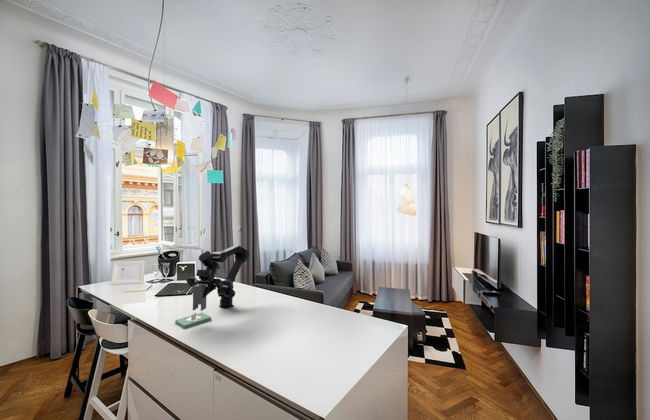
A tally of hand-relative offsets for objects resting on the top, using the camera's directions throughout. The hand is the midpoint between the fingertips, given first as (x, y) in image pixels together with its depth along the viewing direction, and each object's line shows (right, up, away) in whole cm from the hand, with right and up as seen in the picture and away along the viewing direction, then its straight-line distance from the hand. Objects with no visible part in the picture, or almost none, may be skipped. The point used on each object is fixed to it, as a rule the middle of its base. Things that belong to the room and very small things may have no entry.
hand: (198, 297), depth 136 cm
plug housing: (0, -7, +1) cm, 7 cm away
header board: (-4, -14, +2) cm, 14 cm away
